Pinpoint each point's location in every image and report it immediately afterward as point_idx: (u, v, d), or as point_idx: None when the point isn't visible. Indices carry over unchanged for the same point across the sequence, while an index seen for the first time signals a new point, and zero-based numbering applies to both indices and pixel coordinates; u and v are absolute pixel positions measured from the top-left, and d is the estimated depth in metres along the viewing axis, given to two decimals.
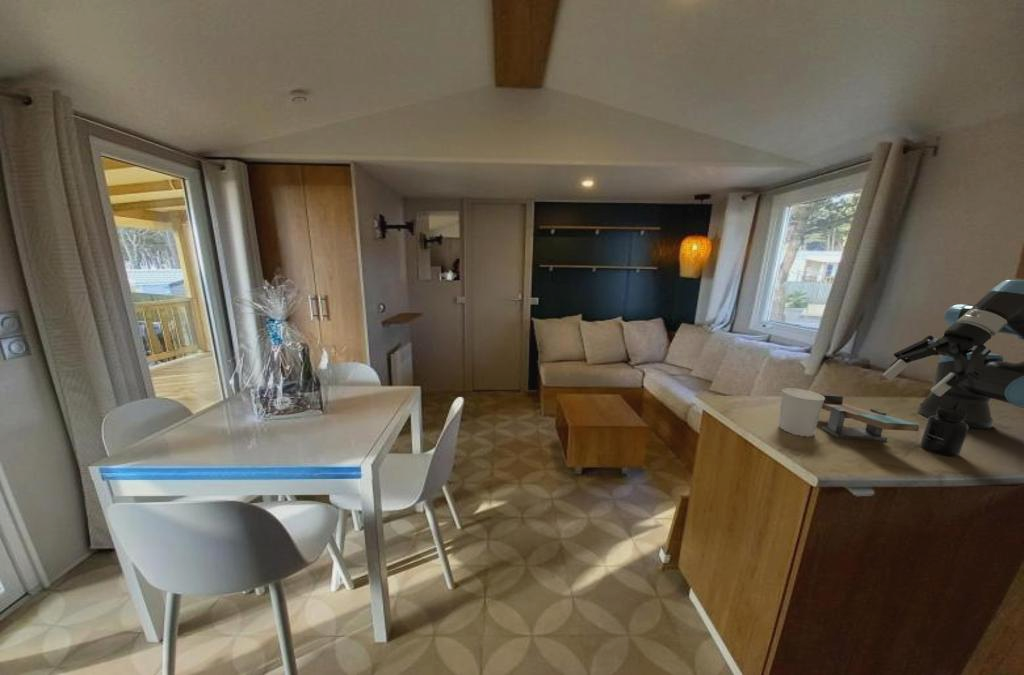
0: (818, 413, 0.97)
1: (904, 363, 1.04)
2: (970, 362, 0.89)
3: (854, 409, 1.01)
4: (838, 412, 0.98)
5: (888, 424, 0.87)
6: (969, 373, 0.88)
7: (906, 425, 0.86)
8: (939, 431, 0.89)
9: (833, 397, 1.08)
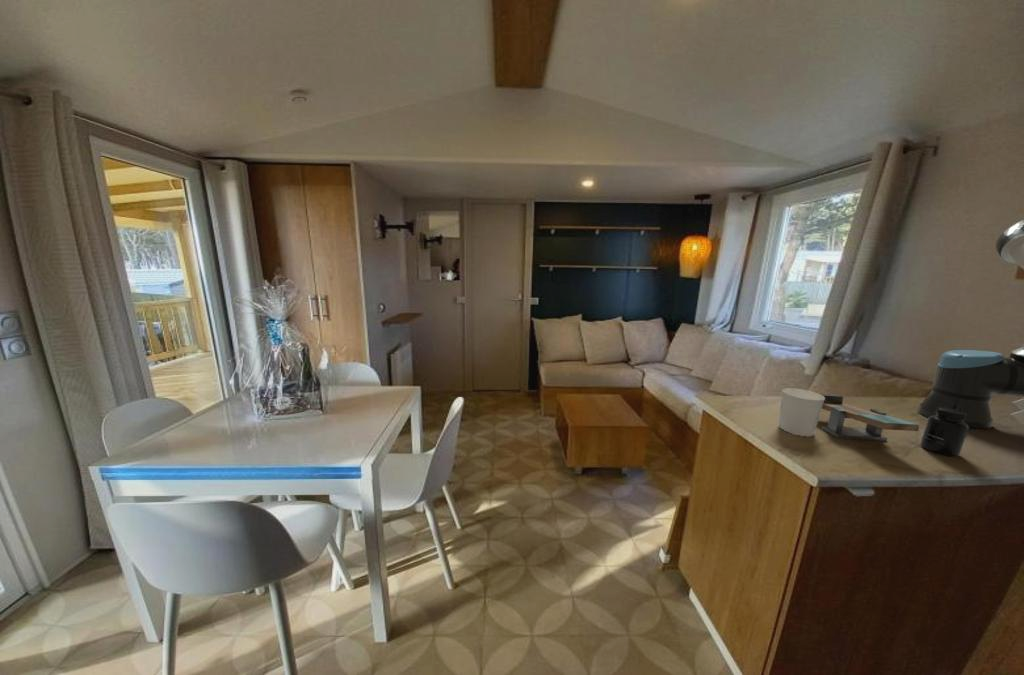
0: (818, 413, 0.97)
1: None
2: None
3: (854, 409, 1.01)
4: (838, 412, 0.98)
5: (888, 424, 0.87)
6: None
7: (906, 425, 0.86)
8: (939, 431, 0.89)
9: (833, 397, 1.08)
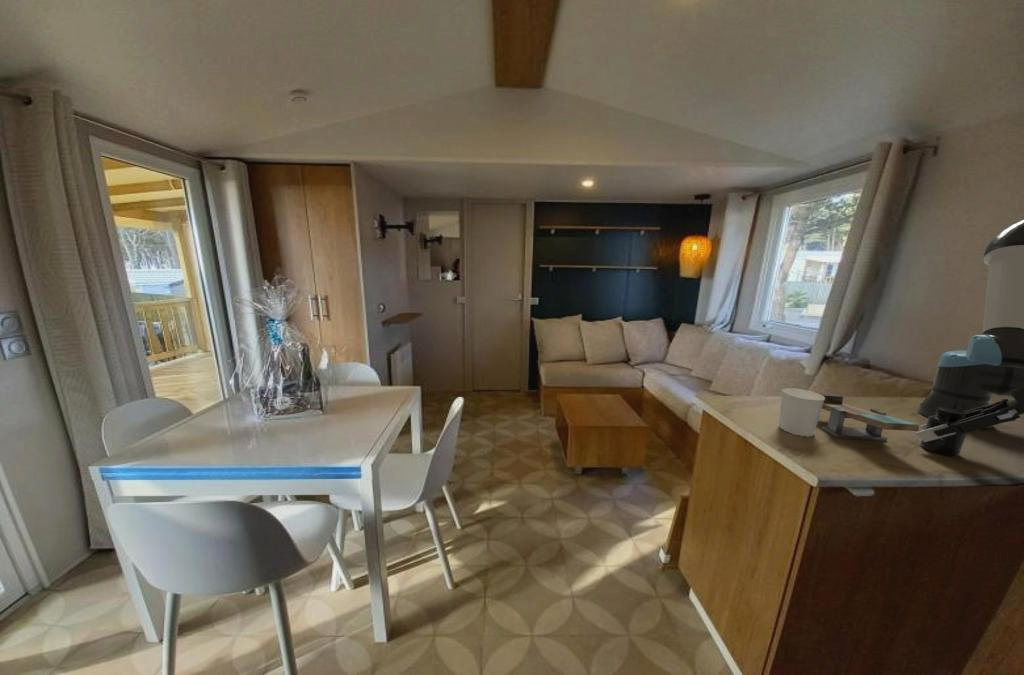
0: (818, 413, 0.97)
1: None
2: None
3: (854, 409, 1.01)
4: (838, 412, 0.98)
5: (888, 424, 0.87)
6: None
7: (906, 425, 0.86)
8: None
9: (833, 397, 1.08)
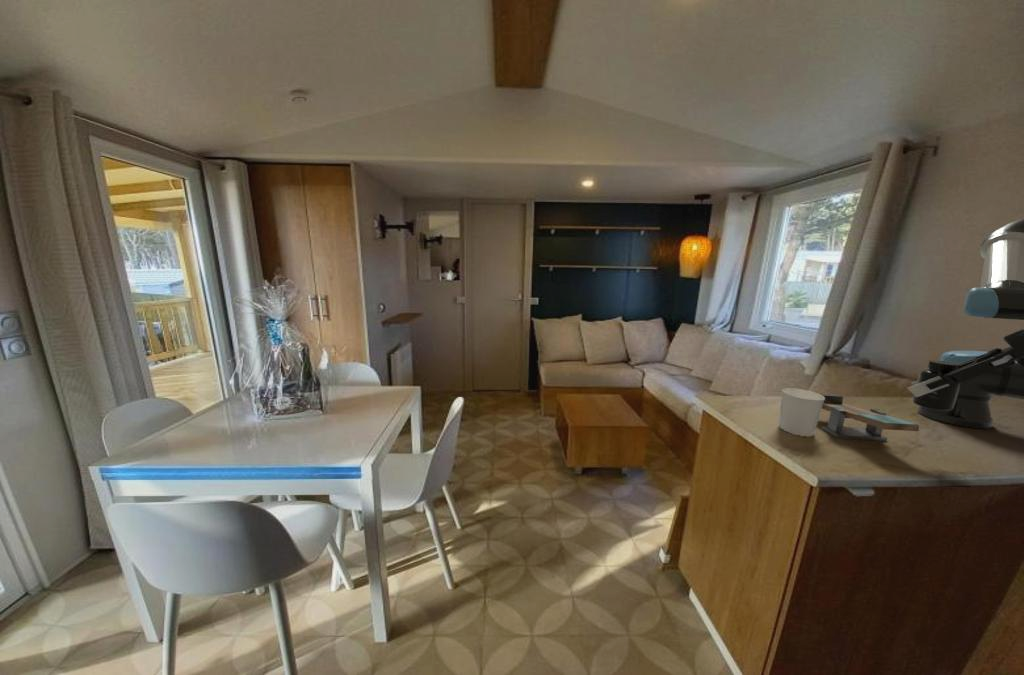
0: (818, 413, 0.97)
1: None
2: None
3: (854, 409, 1.01)
4: (838, 412, 0.98)
5: (888, 424, 0.87)
6: None
7: (906, 425, 0.86)
8: None
9: (833, 397, 1.08)
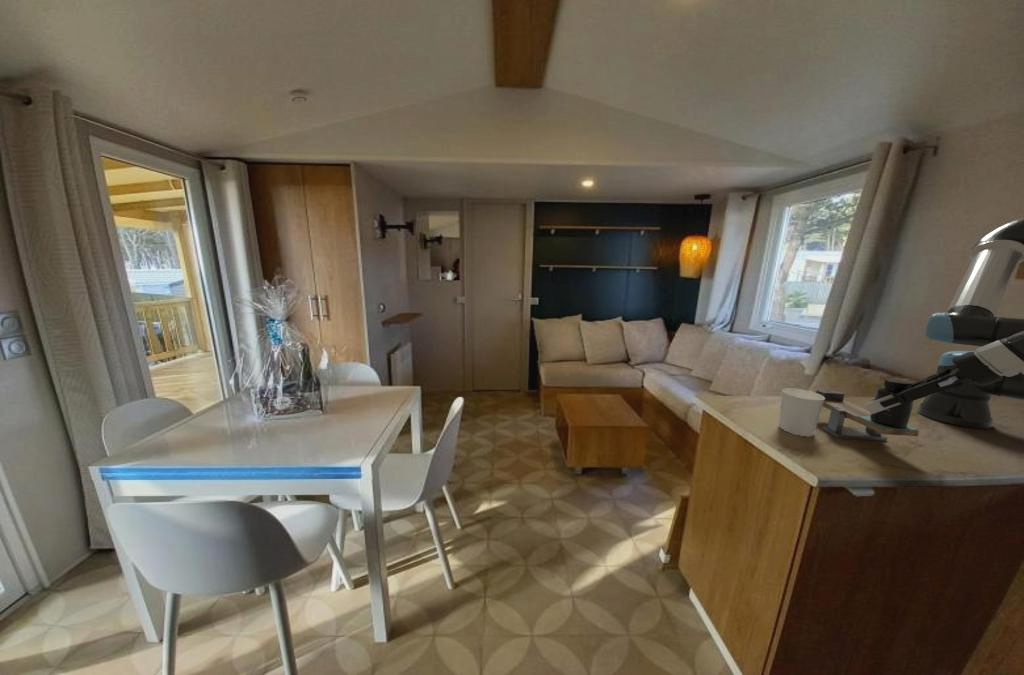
0: (818, 413, 0.97)
1: None
2: None
3: (855, 408, 1.01)
4: (838, 412, 0.98)
5: (888, 429, 0.87)
6: None
7: (906, 430, 0.87)
8: None
9: (834, 394, 1.07)
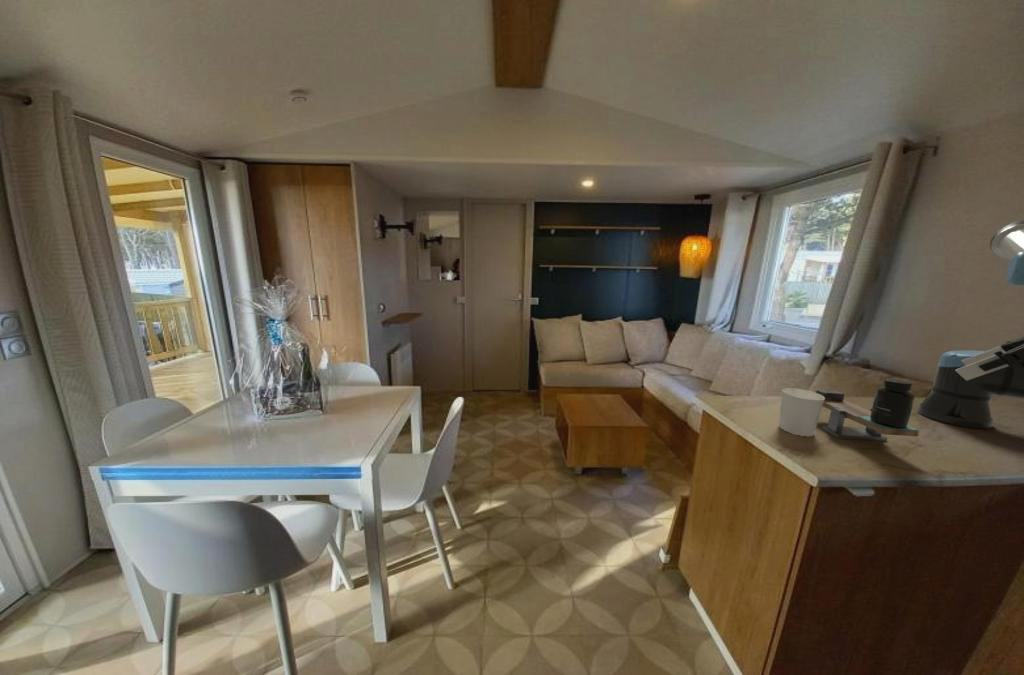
0: (818, 413, 0.97)
1: None
2: None
3: (855, 408, 1.01)
4: (838, 412, 0.98)
5: (888, 429, 0.87)
6: None
7: (906, 430, 0.87)
8: (886, 402, 0.88)
9: (834, 394, 1.07)
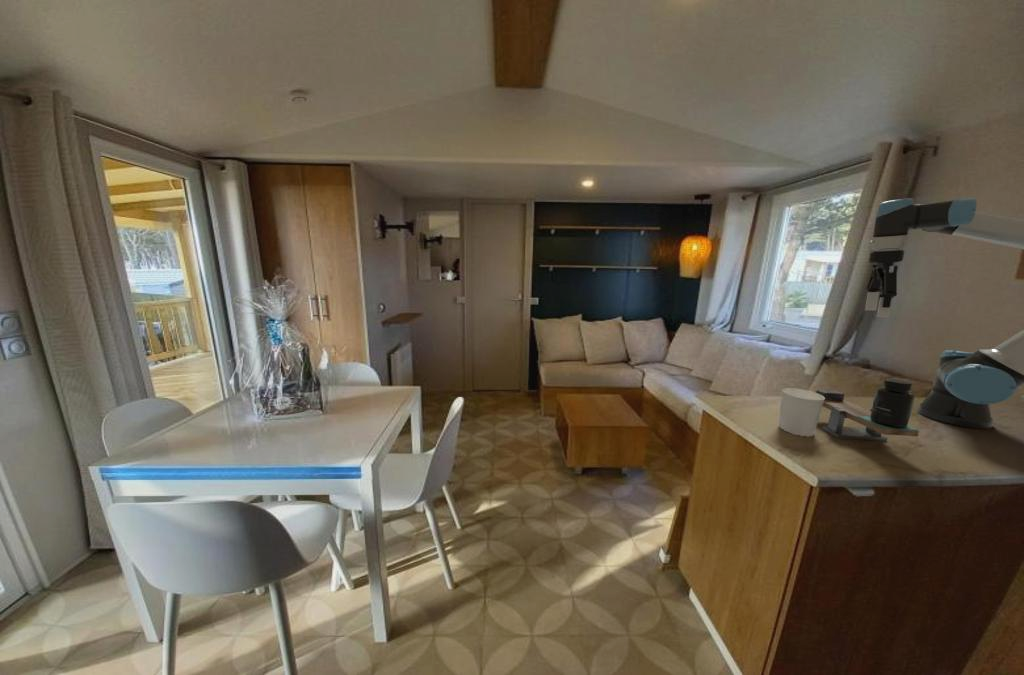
0: (818, 413, 0.97)
1: (874, 293, 1.18)
2: (884, 284, 1.06)
3: (855, 408, 1.01)
4: (838, 412, 0.98)
5: (888, 429, 0.87)
6: (884, 295, 1.05)
7: (906, 430, 0.87)
8: (886, 402, 0.88)
9: (834, 394, 1.07)
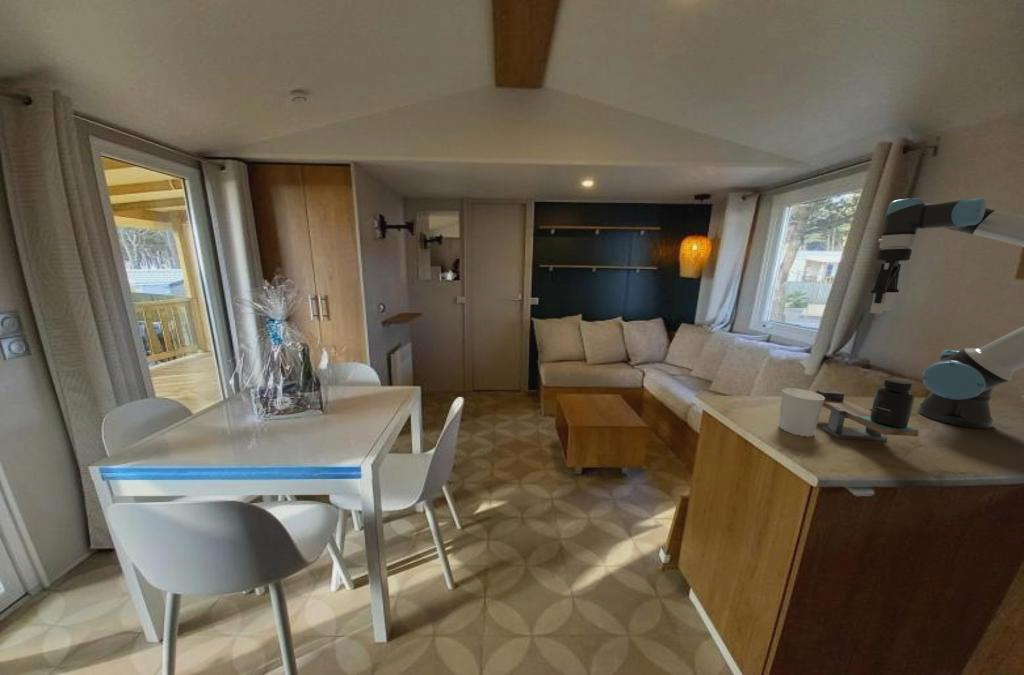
0: (818, 413, 0.97)
1: (889, 293, 1.17)
2: (877, 280, 1.10)
3: (855, 408, 1.01)
4: (838, 412, 0.98)
5: (888, 429, 0.87)
6: (873, 290, 1.09)
7: (906, 430, 0.87)
8: (886, 402, 0.88)
9: (834, 394, 1.07)
